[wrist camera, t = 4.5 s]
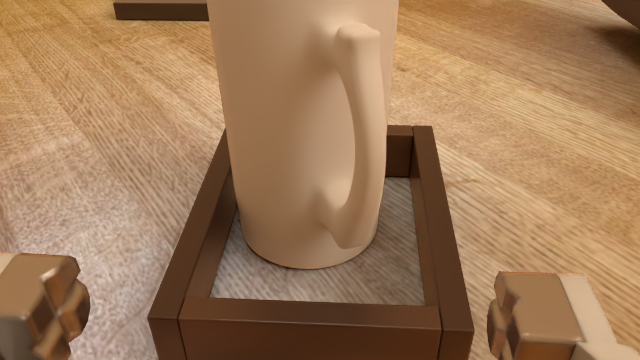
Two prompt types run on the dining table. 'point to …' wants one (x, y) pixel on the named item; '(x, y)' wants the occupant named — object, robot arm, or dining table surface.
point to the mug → (306, 121)
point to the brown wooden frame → (315, 317)
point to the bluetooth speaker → (626, 10)
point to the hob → (161, 9)
